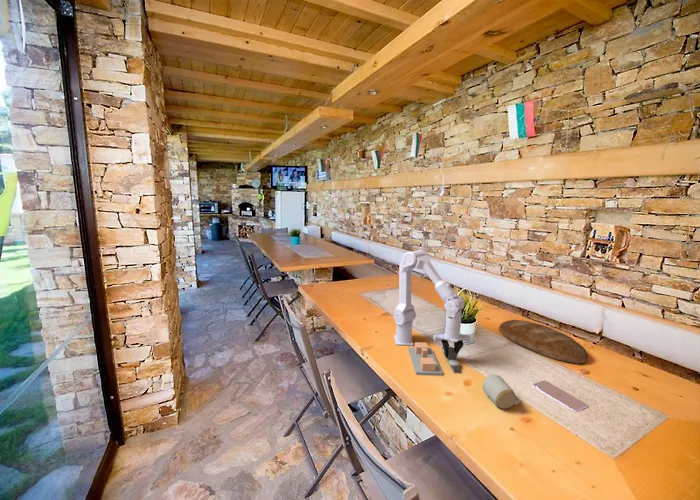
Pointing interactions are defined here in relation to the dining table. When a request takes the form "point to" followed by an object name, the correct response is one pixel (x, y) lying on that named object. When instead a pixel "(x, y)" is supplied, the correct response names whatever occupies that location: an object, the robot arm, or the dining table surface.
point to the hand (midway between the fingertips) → (450, 356)
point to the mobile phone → (560, 396)
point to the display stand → (424, 360)
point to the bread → (544, 340)
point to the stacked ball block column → (452, 359)
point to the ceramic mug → (499, 392)
